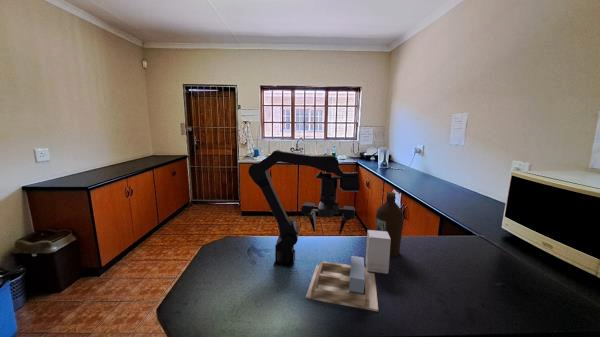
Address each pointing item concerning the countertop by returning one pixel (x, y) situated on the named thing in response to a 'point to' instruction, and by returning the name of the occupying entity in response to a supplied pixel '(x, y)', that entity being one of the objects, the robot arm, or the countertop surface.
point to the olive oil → (391, 222)
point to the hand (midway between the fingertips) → (327, 233)
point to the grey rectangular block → (357, 275)
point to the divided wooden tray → (341, 286)
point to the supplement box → (378, 251)
